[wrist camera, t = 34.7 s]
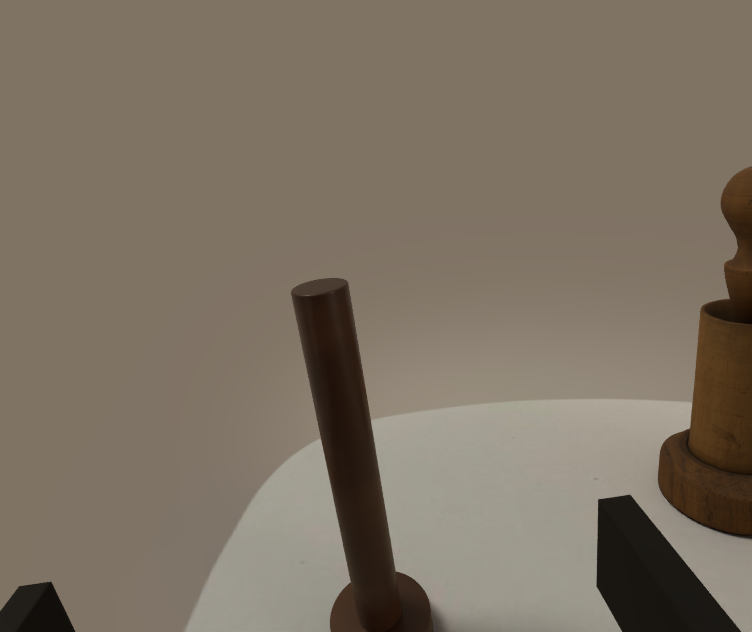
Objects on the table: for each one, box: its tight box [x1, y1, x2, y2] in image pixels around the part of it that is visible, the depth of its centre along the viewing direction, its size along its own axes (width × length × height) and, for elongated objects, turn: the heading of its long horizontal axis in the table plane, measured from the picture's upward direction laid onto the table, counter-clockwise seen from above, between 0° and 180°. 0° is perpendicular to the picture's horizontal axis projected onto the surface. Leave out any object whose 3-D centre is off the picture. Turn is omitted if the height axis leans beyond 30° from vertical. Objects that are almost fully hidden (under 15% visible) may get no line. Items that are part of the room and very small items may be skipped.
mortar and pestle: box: [658, 167, 752, 535], centre depth 24 cm, size 7×6×18 cm
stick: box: [291, 278, 434, 632], centre depth 19 cm, size 5×5×17 cm
